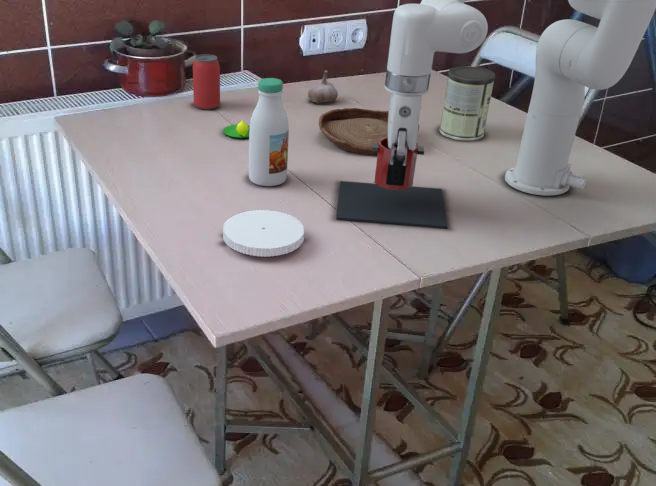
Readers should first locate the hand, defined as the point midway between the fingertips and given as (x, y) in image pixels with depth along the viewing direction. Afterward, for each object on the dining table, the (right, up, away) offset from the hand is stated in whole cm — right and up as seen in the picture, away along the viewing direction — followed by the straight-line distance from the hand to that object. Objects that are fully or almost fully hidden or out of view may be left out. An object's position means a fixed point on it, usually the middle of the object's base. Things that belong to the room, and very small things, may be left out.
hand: (394, 175), depth 139 cm
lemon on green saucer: (-29, +15, +33) cm, 47 cm away
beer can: (-38, +25, +48) cm, 66 cm away
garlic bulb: (-9, +27, +52) cm, 60 cm away
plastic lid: (-25, -13, -9) cm, 29 cm away
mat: (0, -5, +3) cm, 6 cm away
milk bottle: (-23, +1, +12) cm, 26 cm away
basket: (-1, +13, +31) cm, 34 cm away
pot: (0, -1, +1) cm, 1 cm away
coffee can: (+22, +16, +36) cm, 45 cm away
